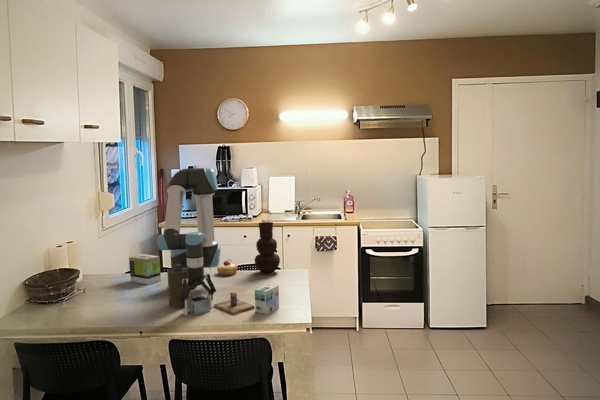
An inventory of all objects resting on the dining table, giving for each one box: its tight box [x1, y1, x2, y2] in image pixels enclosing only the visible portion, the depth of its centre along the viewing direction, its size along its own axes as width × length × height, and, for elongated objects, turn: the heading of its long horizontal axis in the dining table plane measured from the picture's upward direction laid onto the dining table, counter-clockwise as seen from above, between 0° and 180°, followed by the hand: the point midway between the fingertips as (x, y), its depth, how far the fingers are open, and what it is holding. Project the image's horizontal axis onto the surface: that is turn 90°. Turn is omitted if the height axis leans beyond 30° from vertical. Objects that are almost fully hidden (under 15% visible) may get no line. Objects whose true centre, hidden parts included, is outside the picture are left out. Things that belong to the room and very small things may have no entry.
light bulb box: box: [254, 283, 280, 315], centre depth 234 cm, size 11×7×11 cm, turn 148°
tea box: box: [128, 253, 162, 286], centre depth 287 cm, size 15×10×15 cm
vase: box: [253, 221, 281, 275], centre depth 298 cm, size 15×15×30 cm
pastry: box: [216, 258, 239, 276], centre depth 300 cm, size 12×12×9 cm
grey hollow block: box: [185, 294, 211, 316], centre depth 234 cm, size 8×8×6 cm
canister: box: [166, 264, 191, 309], centre depth 244 cm, size 11×10×20 cm
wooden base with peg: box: [213, 291, 255, 315], centre depth 238 cm, size 16×12×7 cm
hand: (197, 311), depth 234 cm, fingers open, 12 cm apart
